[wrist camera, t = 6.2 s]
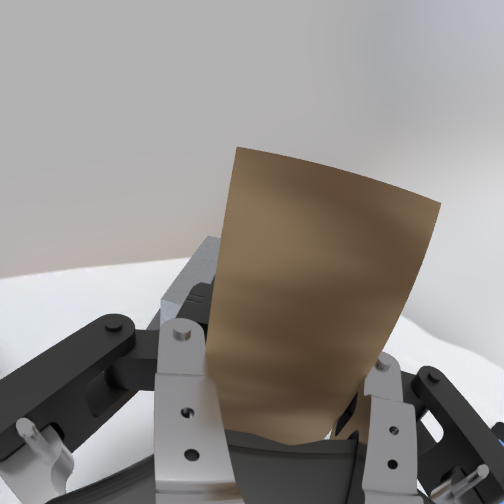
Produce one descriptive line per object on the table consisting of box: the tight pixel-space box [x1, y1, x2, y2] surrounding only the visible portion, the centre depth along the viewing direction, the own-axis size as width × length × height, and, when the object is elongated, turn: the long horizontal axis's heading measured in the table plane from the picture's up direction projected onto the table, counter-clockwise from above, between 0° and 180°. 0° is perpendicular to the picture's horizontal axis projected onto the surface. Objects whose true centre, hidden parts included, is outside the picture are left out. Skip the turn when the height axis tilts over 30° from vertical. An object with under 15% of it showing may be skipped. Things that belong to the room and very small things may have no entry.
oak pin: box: [205, 147, 441, 445], centre depth 9 cm, size 4×4×14 cm
